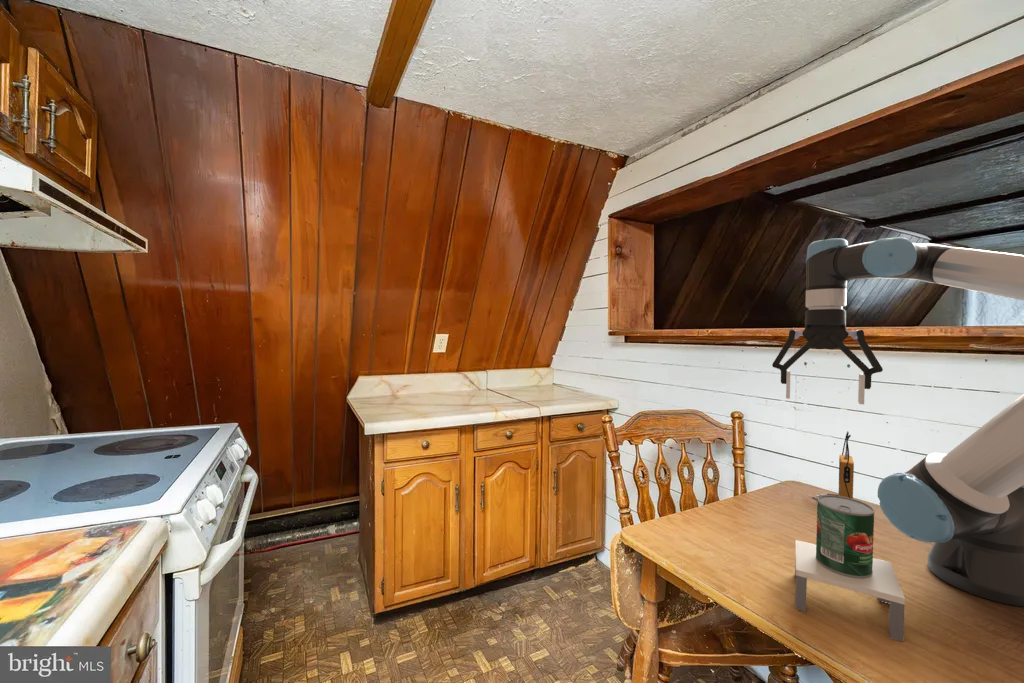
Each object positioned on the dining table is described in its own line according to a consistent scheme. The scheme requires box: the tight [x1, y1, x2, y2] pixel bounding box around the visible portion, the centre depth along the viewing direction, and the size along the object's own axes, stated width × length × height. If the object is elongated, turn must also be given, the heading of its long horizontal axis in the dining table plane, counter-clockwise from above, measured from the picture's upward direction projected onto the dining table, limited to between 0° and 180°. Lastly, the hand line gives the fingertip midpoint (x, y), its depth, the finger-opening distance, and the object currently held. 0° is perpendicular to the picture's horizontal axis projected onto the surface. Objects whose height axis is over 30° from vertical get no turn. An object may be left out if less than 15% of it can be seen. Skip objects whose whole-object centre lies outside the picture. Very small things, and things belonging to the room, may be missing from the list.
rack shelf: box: [794, 539, 906, 643], centre depth 74 cm, size 14×12×7 cm
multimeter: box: [806, 431, 855, 500], centre depth 115 cm, size 15×10×20 cm
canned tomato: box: [815, 494, 876, 578], centre depth 74 cm, size 8×8×11 cm
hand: (823, 400), depth 97 cm, fingers open, 13 cm apart
